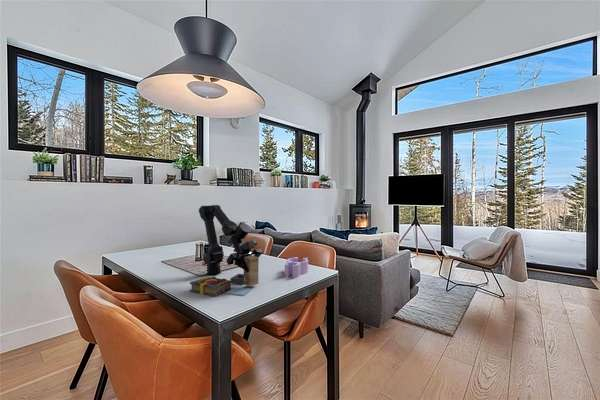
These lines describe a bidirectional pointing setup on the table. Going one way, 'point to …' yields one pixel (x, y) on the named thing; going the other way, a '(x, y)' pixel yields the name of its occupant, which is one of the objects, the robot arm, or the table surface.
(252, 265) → the tan wooden block
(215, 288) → the decorative book
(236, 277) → the trap pit
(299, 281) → the table surface
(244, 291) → the pad
